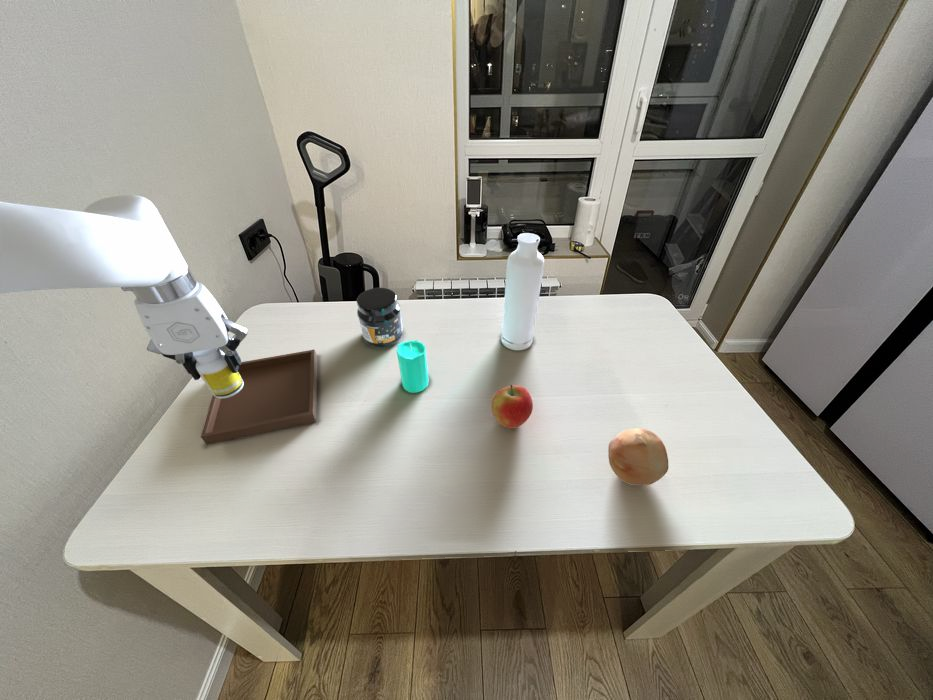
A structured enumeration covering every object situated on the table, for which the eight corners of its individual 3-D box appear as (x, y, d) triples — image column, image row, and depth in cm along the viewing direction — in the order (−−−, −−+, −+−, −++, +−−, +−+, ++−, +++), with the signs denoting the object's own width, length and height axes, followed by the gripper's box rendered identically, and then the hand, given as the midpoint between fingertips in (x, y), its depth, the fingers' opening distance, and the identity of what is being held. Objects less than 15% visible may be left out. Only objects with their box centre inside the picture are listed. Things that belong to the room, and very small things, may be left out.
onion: (653, 506, 65) (675, 475, 58) (595, 480, 68) (609, 448, 62) (661, 462, 71) (682, 430, 64) (608, 441, 74) (622, 408, 68)
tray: (206, 445, 74) (200, 437, 72) (226, 373, 89) (221, 365, 87) (316, 421, 78) (312, 413, 76) (317, 357, 93) (314, 349, 91)
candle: (397, 389, 85) (390, 349, 77) (409, 371, 89) (403, 331, 81) (422, 395, 83) (417, 355, 75) (432, 377, 88) (429, 337, 80)
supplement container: (360, 349, 95) (350, 310, 87) (366, 324, 103) (358, 286, 95) (402, 348, 95) (396, 310, 87) (405, 323, 103) (400, 285, 95)
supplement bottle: (250, 385, 72) (229, 346, 65) (224, 403, 68) (198, 364, 62) (233, 374, 74) (211, 336, 68) (207, 392, 71) (180, 353, 64)
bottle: (500, 329, 101) (508, 229, 82) (531, 330, 101) (545, 230, 82) (501, 349, 95) (510, 246, 76) (533, 350, 95) (550, 247, 76)
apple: (506, 443, 74) (510, 410, 67) (483, 416, 79) (484, 383, 72) (537, 425, 77) (544, 392, 71) (513, 400, 82) (517, 367, 76)
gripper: (86, 307, 52) (158, 396, 64) (223, 289, 55) (266, 376, 67) (109, 280, 57) (171, 366, 69) (232, 265, 61) (271, 349, 73)
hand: (217, 370), depth 68 cm, fingers closed on supplement bottle, 5 cm apart
